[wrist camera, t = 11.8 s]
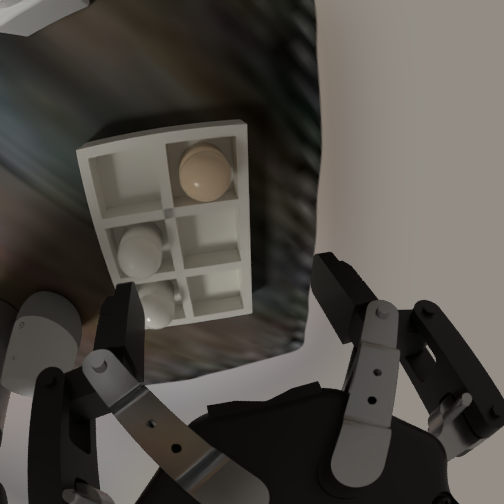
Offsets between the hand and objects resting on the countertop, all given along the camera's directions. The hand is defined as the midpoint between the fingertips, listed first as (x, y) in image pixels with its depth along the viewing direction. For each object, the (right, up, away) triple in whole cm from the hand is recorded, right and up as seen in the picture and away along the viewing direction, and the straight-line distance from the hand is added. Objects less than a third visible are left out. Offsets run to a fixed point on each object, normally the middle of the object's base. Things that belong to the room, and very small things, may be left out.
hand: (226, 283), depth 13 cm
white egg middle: (-10, +3, +17) cm, 20 cm away
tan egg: (-4, +10, +14) cm, 17 cm away
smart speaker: (-26, -6, +20) cm, 33 cm away
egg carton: (-7, +4, +18) cm, 20 cm away
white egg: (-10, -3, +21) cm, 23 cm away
